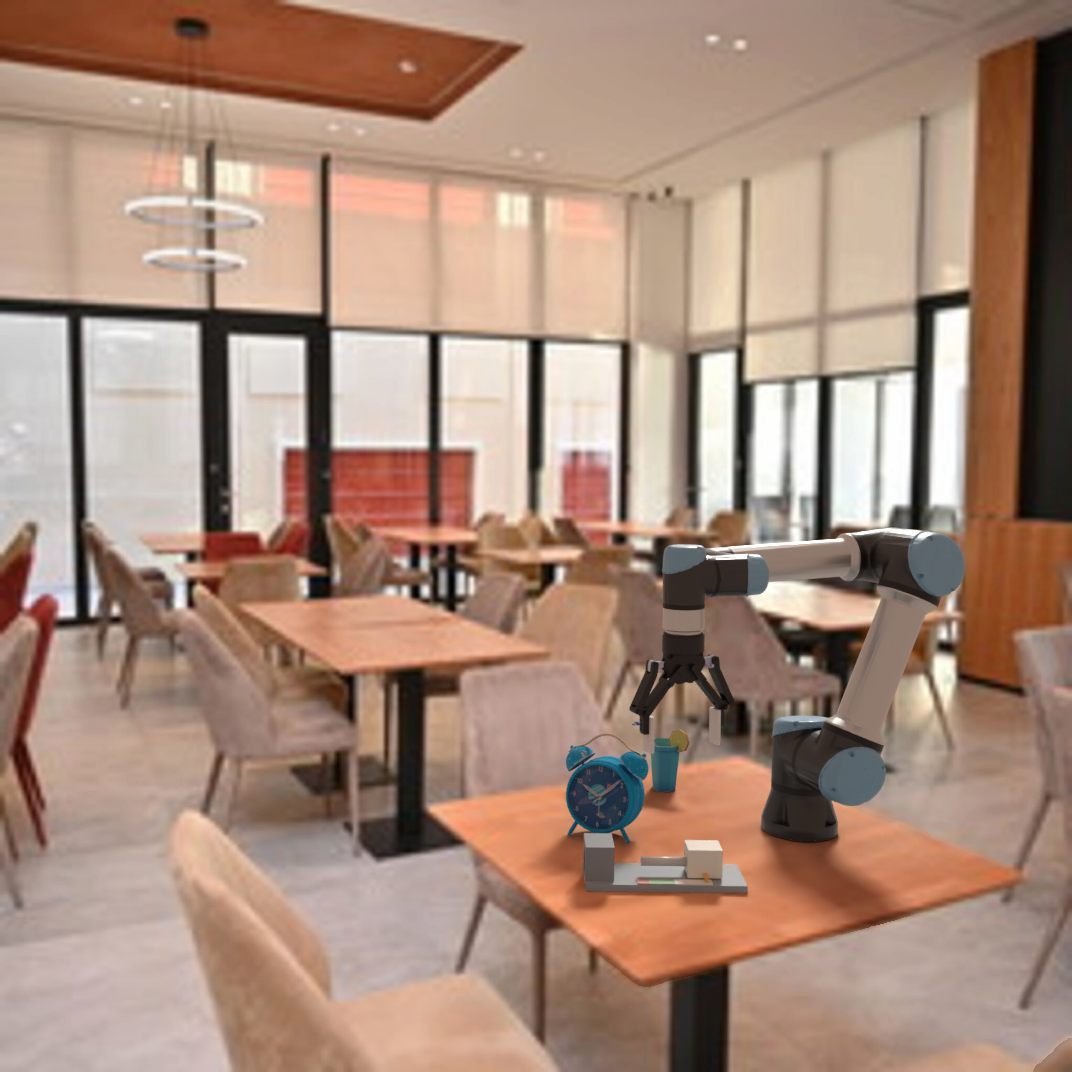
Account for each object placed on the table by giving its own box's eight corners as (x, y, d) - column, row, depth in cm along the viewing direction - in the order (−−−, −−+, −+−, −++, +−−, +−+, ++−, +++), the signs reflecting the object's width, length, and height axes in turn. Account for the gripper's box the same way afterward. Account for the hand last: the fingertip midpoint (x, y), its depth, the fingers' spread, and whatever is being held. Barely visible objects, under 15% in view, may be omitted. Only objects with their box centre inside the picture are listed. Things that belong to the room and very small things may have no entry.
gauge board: (736, 870, 194) (737, 831, 193) (747, 892, 184) (748, 852, 183) (582, 868, 194) (583, 830, 193) (585, 891, 184) (586, 850, 183)
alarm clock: (555, 838, 209) (556, 738, 207) (571, 822, 218) (573, 726, 217) (638, 850, 203) (640, 747, 201) (651, 833, 213) (653, 734, 211)
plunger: (717, 867, 191) (717, 840, 191) (724, 883, 184) (725, 854, 184) (639, 866, 191) (639, 839, 191) (643, 882, 184) (644, 854, 184)
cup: (625, 788, 241) (626, 723, 240) (636, 779, 248) (638, 715, 247) (684, 797, 235) (686, 730, 234) (694, 787, 242) (696, 722, 241)
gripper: (731, 623, 199) (730, 735, 200) (611, 632, 189) (610, 749, 191) (754, 629, 192) (752, 745, 193) (630, 639, 182) (630, 760, 184)
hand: (682, 747), depth 192 cm, fingers open, 13 cm apart
